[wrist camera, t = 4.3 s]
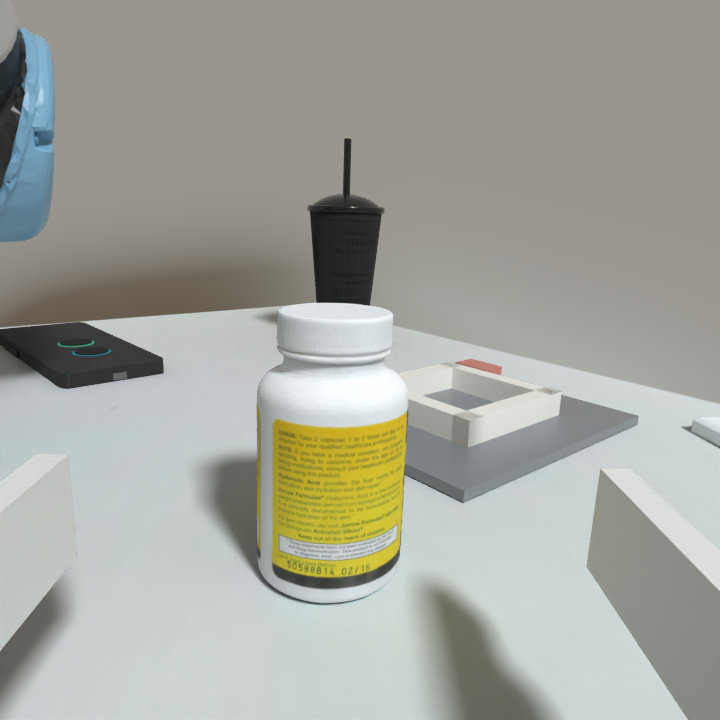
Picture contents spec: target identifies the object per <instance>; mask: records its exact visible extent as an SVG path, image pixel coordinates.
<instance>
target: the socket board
mask: <svg viewBox="0 0 720 720" xmlns="http://www.w3.org/2000/svg"><path fill="white" fill-rule="evenodd" d="M501 369H502V367H501V366H497V365H493V364H489V363H485V362H481V361H477V360H473V359H469V360H464V361H459V362H455V363H452V362H449V363H444V364H439V365H434V366H430V367H425V368H420V369H415V370H410V371H405V372H401V373H397V374H398V375H399V376H400V377H401V379H402V380H403V381H404V383H405V385H406V388H407V391H408V425H407V439H406V455H405V474H406V475H408V476H410V477H412V478H414V479H416V480H418V481H420V482H422V483H424V484H426V485H428V486H430V487H432V488H435V489H437V490H439V491H441V492H443V493H445V494H447V495H449V496H451V497H453V498H455V499H457V500H459V501H461V502H466V501H468V500H470V499H472V498H475V497H477V496H479V495H481V494H483V493H486V492H488V491H490V490H492V489H495V488H497V487H499V486H501V485H504V484H506V483H508V482H510V481H512V480H515V479H517V478H519V477H521V476H524V475H526V474H528V473H530V472H532V471H535V470H537V469H539V468H541V467H544V466H546V465H548V464H550V463H553V462H555V461H557V460H559V459H561V458H564V457H566V456H568V455H570V454H573V453H575V452H577V451H579V450H582V449H584V448H586V447H588V446H590V445H593V444H595V443H597V442H599V441H602V440H604V439H606V438H608V437H610V436H613V435H615V434H617V433H619V432H622V431H624V430H626V429H628V428H631V427H633V426H635V425H637V423H638V417H639V416H637V415H633V414H630V413H626V412H622V411H619V410H615V409H611V408H608V407H604V406H600V405H597V404H593V403H589V402H585V401H582V400H578V399H574V398H571V397H567V396H563V395H561V393H562V392H561V391H557V390H553V389H550V388H546V387H542V386H538V385H535V384H531V383H527V382H523V381H520V380H516V379H512V378H508V377H505V376H501Z"/></svg>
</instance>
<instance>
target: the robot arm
mask: <svg viewBox="0 0 720 720" xmlns="http://www.w3.org/2000/svg"><path fill="white" fill-rule="evenodd" d="M54 121H55V96H54V72H53V63H52V55H51V50H50V47H49V45H48V43H47V42H46V41H45V40H44V39H43V38H42V37H40V36H38V35H35V34H31V33H30V32H29V31H27V30H25V29H23V28H17V19H16V14H15V11H14V8H13V6H12V3H11V1H10V0H0V242H16V241H25V240H29V239H31V238H33V237H35V236H37V235H38V234H39V233H40V232H41V231H42V230H43V228H44V227H45V225H46V223H47V220H48V217H49V212H50V206H51V197H52V187H53V171H54V146H53V142H52V140H53V138H54ZM76 556H77V545H76V534H75V524H74V513H73V502H72V491H71V480H70V470H69V459H68V455H55V454H36V455H35V456H33V457H32V458H31V459H29V460H28V461H27V462H25V463H24V464H23V465H21V466H20V467H19V468H17V469H16V470H15V471H14V472H12V473H11V474H10V475H8V476H7V477H6V478H4V479H3V480H2V481H0V651H1V650H2V648H3V647H4V646H5V645H6V643H7V642H8V641H9V640H10V638H11V637H12V636H13V635H14V633H15V632H16V631H17V630H18V629H19V627H20V626H21V625H22V624H23V622H24V621H25V620H26V619H27V617H28V616H29V615H30V614H31V612H32V611H33V610H34V609H35V607H36V606H37V605H38V604H39V602H40V601H41V600H42V599H43V597H44V596H45V595H46V594H47V592H48V591H49V590H50V589H51V587H52V586H53V585H54V584H55V583H56V581H57V580H58V579H59V578H60V576H61V575H62V574H63V573H64V571H65V570H66V569H67V568H68V566H69V565H70V564H71V563H72V561H73V560H74V559H75V558H76ZM587 568H588V569H589V571H590V572H591V574H592V575H593V577H594V579H595V580H596V582H597V583H598V585H599V586H600V588H601V589H602V591H603V592H604V594H605V595H606V597H607V598H608V600H609V601H610V603H611V604H612V606H613V607H614V609H615V610H616V612H617V613H618V615H619V616H620V618H621V619H622V621H623V622H624V624H625V625H626V627H627V628H628V630H629V631H630V633H631V634H632V636H633V637H634V639H635V640H636V642H637V643H638V645H639V646H640V648H641V649H642V651H643V652H644V654H645V655H646V657H647V659H648V660H649V662H650V663H651V665H652V666H653V668H654V669H655V671H656V672H657V674H658V675H659V677H660V678H661V680H662V681H663V683H664V684H665V686H666V687H667V689H668V690H669V692H670V693H671V695H672V696H673V698H674V699H675V701H676V702H677V704H678V705H679V707H680V708H681V710H682V711H683V713H684V714H685V716H686V717H687V719H688V720H720V551H719V550H718V549H717V548H716V547H715V546H714V545H713V544H712V543H711V542H710V541H709V540H707V539H706V538H705V537H704V536H703V535H702V534H701V533H700V532H699V531H698V530H697V529H695V528H694V527H693V526H692V525H691V524H690V523H689V522H688V521H687V520H686V519H685V518H684V517H682V516H681V515H680V514H679V513H678V512H677V511H676V510H675V509H674V508H673V507H672V506H670V505H669V504H668V503H667V502H666V501H665V500H664V499H663V498H662V497H661V496H660V495H658V494H657V493H656V492H655V491H654V490H653V489H652V488H651V487H650V486H649V485H648V484H647V483H645V482H644V481H643V480H642V479H641V478H640V477H639V476H638V475H637V474H636V473H635V472H633V471H632V470H631V469H604V468H600V475H599V482H598V489H597V496H596V504H595V511H594V518H593V525H592V532H591V539H590V546H589V553H588V560H587Z"/></svg>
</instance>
